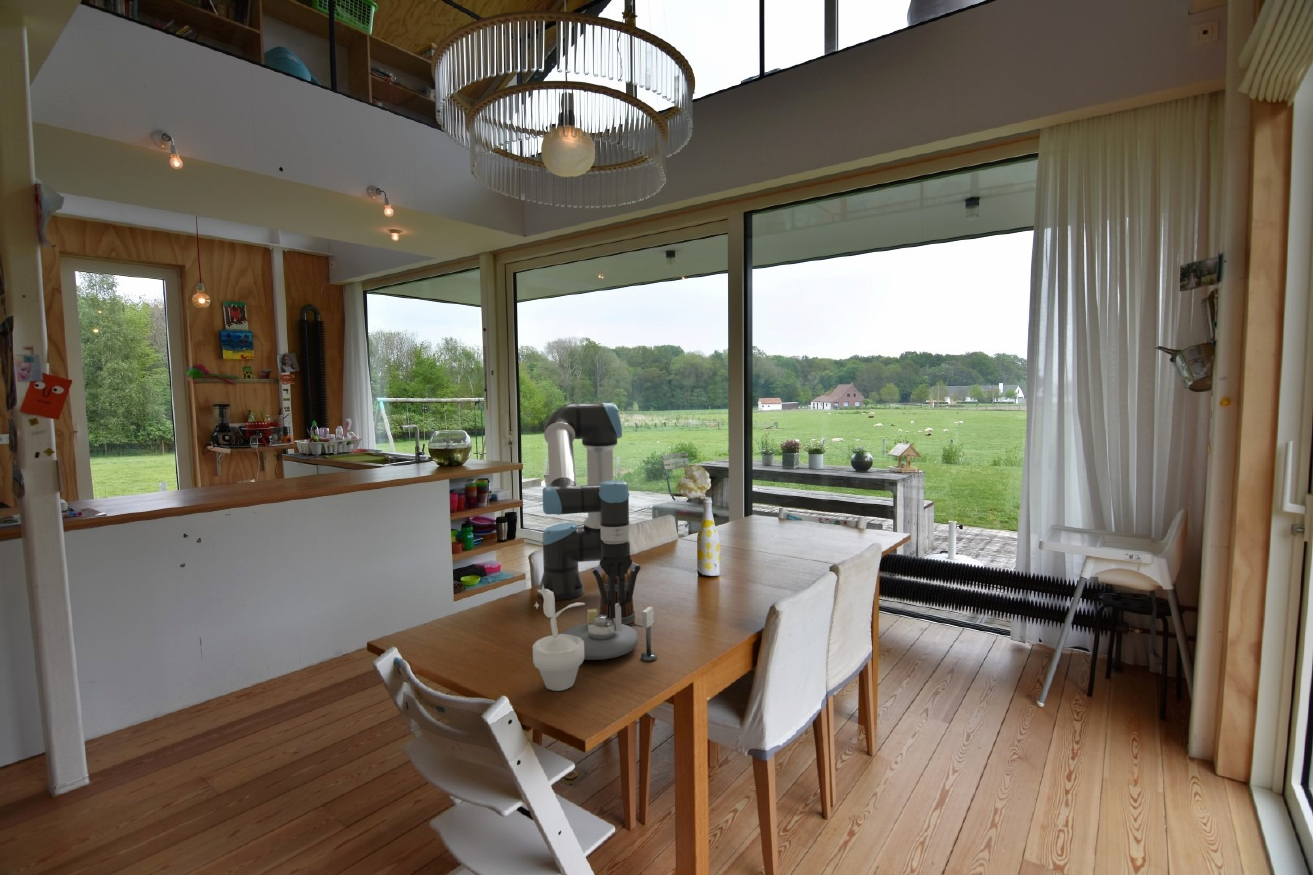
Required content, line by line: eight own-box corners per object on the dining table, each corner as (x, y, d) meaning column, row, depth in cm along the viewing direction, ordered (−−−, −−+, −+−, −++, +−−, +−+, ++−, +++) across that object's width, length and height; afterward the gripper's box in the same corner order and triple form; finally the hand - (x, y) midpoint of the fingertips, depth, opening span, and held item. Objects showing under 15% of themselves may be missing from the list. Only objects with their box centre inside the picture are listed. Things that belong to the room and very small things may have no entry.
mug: (630, 630, 173) (629, 578, 172) (594, 628, 175) (593, 576, 174) (642, 611, 188) (641, 563, 187) (609, 609, 190) (608, 562, 189)
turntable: (555, 634, 166) (554, 612, 166) (627, 625, 172) (626, 604, 171) (565, 664, 147) (564, 640, 146) (646, 653, 152) (645, 629, 152)
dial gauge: (659, 656, 155) (658, 607, 154) (652, 662, 151) (651, 612, 150) (635, 652, 157) (634, 604, 157) (628, 658, 154) (627, 609, 153)
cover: (586, 632, 162) (586, 613, 161) (612, 629, 164) (612, 610, 163) (590, 642, 155) (590, 622, 155) (617, 638, 157) (617, 619, 157)
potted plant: (523, 693, 137) (520, 583, 135) (550, 671, 147) (547, 569, 146) (573, 701, 132) (570, 588, 131) (597, 678, 143) (595, 573, 141)
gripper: (593, 546, 154) (595, 637, 155) (643, 541, 157) (645, 631, 159) (588, 539, 161) (590, 627, 162) (635, 535, 164) (638, 621, 166)
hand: (617, 629), depth 160 cm, fingers closed
